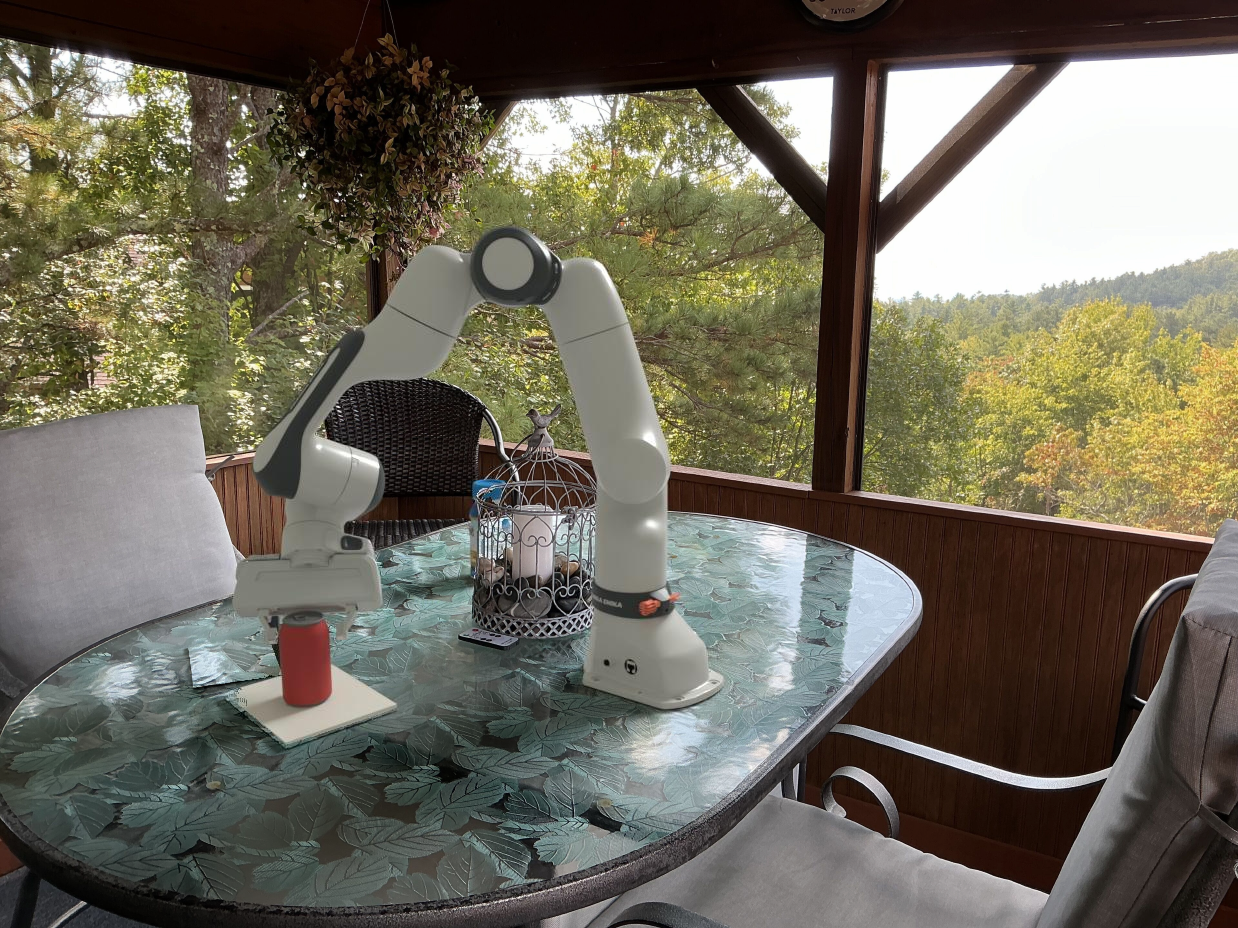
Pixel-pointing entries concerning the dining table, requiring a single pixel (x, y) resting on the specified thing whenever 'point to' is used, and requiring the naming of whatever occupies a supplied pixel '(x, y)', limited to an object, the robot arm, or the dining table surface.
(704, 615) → the dining table surface
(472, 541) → the beverage bottle
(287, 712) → the ceramic tile
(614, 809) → the dining table surface
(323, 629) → the beer can
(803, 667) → the dining table surface
